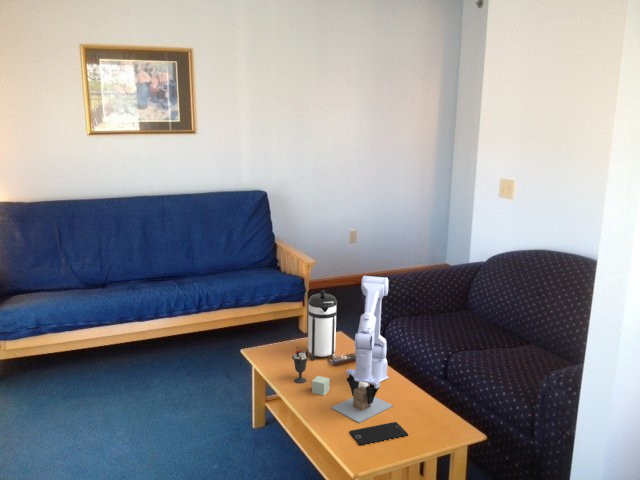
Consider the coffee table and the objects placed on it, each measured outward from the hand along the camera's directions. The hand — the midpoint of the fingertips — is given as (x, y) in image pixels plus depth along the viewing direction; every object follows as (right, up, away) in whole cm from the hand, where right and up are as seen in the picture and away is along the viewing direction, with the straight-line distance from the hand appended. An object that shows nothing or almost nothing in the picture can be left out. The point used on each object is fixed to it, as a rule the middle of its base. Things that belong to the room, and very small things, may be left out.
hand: (362, 399), depth 214 cm
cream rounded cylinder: (+1, 0, +15) cm, 15 cm away
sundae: (-23, +2, +21) cm, 31 cm away
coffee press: (-15, +7, +47) cm, 50 cm away
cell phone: (+4, -8, -17) cm, 19 cm away
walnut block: (0, -3, 0) cm, 3 cm away
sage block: (-15, 0, +12) cm, 20 cm away
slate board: (0, -3, +1) cm, 3 cm away
